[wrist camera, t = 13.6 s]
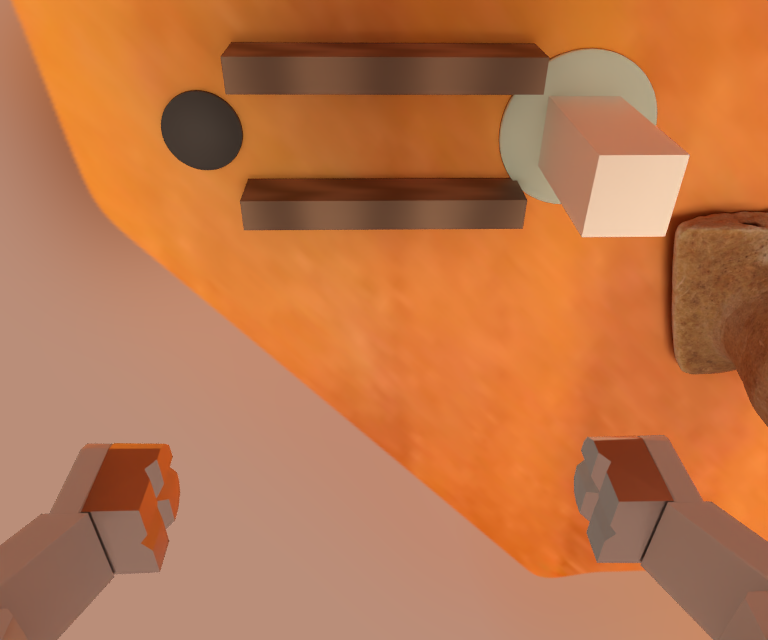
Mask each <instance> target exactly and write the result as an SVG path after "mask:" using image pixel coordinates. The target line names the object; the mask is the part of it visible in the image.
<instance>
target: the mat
mask: <svg viewBox="0 0 768 640" xmlns="http://www.w3.org/2000/svg"><path fill="white" fill-rule="evenodd" d="M549 96H621V97H622V98H623V99H625V100H626V101H627V102H628V103H629V104H631V105H632V106H633V107H634V108H635V109H636V110H638V111H639V112H640V113H641V114H642V115H643V116H645V117H646V118H647V119H648V120H649V121H651V122H652V123H653V124H654V125H655V126H656V123H657V102H656V98H655V93H654V90H653V88H652V85H651V83H650V81H649V80H648V78H647V76H646V75H645V73H644V72H643V71H642V70H641V69H640V68H639V67H638V66H637V65H636V64H635V63H634V62H632V61H631V60H629V59H628V58H626V57H624V56H623V55H621V54H618V53H616V52H613V51H609V50H605V49H596V48H588V49H578V50H573V51H569V52H566V53H563V54H560V55H558V56H556V57H554V58H552V59H550V60H549V63H548V70H547V76H546V83H545V89H544V95H512V97H511V98H510V100H509V102H508V104H507V106H506V109H505V111H504V114H503V117H502V120H501V126H500V132H499V146H500V153H501V158H502V161H503V163H504V166H505V168H506V170H507V172H508V174H509V176H510V177H511V179H512V180H513V181H515V180H517V181H518V183H519V185H520V187H521V189H522V191H524V192H525V193H527V194H528V195H530V196H532V197H534V198H536V199H538V200H541V201H544V202H548V203H554V204H561V202H560V201H559V199H558V198H557V196H556V194H555V193H554V191H553V189H552V188H551V186H550V184H549V183H548V181H547V180H546V178H545V176H544V175H543V173H542V171H541V170H540V168H539V167H538V162H539V155H540V149H541V143H542V137H543V130H544V124H545V118H546V111H547V105H548V99H549Z"/></svg>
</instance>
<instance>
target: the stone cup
mask: <svg viewBox="0 0 768 640" xmlns="http://www.w3.org/2000/svg"><path fill="white" fill-rule="evenodd" d="M672 333H673V346H674V353H675V358H676V361H677V363H678V365H679V367H680V368H681V370H682V371H684V372H686V373H689V374H711V373H721V372H727V371H732V370H737V372H738V374H739V376H740V378H741V379H742V381H743V384H744V387H745V389H746V392H747V395H748V397H749V400H750V402H751V404H752V406H753V407H754V409H755V411H756V412H757V414H758V415H759V416H760V417H761V419H762V420H763V421H764V423H765V424H766V425H767V426H768V213H764V212H737V213H733V214H729V213H719V214H711V215H707V216H704V217H703V216H699V217H696V218H694V219H691V220H688V221H685V222H682V223H681V224H680V225H679V226H678V227H677V230H676V232H675V239H674V255H673V265H672Z"/></svg>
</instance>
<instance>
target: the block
mask: <svg viewBox="0 0 768 640" xmlns="http://www.w3.org/2000/svg"><path fill="white" fill-rule="evenodd" d="M689 156H690V155H689V154H688V153H687V152H686V151H685V150H683V149H682V148H681V147H680V146H679V145H678V144H676V143H675V142H674V141H673V140H672V139H671V138H669V137H668V136H667V135H666V134H665V133H663V132H662V131H661V130H660V129H659V128H658V127H656V126H655V125H654V124H653V123H652V122H651V121H649V120H648V119H647V118H646V117H645V116H643V115H642V114H641V113H640V112H639V111H638V110H636V109H635V108H634V107H633V106H632V105H631V104H629V103H628V102H627V101H626V100H625V99H623V98H622V97H621V96H549V99H548V105H547V111H546V118H545V124H544V130H543V137H542V143H541V149H540V155H539V162H538V167H539V168H540V170H541V171H542V173H543V175H544V176H545V178H546V180H547V181H548V183H549V184H550V186H551V188H552V189H553V191H554V193H555V194H556V196H557V198H558V199H559V201H560V202H561V204H562V206H563V207H564V209H565V211H566V212H567V214H568V215H569V217H570V219H571V220H572V222H573V224H574V225H575V227H576V229H577V230H578V232H579V233H580V235H581V237H653V236H665V235H666V232H667V228H668V225H669V222H670V219H671V215H672V212H673V209H674V206H675V202H676V199H677V196H678V192H679V189H680V186H681V183H682V179H683V176H684V173H685V169H686V166H687V163H688V160H689Z"/></svg>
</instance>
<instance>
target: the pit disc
mask: <svg viewBox="0 0 768 640" xmlns="http://www.w3.org/2000/svg"><path fill="white" fill-rule="evenodd" d="M161 130H162V135H163V138H164V141H165V143H166V145H167V147H168V148H169V150H170V151H171V152H172V153H173V155H174V156H175V157H176V158H178V159H179V160H180V161H181V162H183V163H185V164H186V165H188V166H191V167H193V168H196V169H201V170H214V169H219V168H222V167H224V166H226V165H227V164H229V163H230V162H231V161H232V160H233V159H234V158H235V157H236V156H237V154H238V152H239V150H240V147H241V144H242V137H243V134H242V127H241V123H240V120H239V118H238V116H237V114H236V113H235V111H234V110H233V109H232V107H231V106H230V105H229V104H228V103H227V102H226V101H224V100H223V99H222V98H220V97H218V96H216V95H214V94H212V93H209V92H205V91H197V90H195V91H187V92H184V93H181V94H179V95H178V96H176V97H175V98H173V99H172V100H171V101H170V102H169V104H168V105H167V106H166V108H165V110H164V112H163V115H162V119H161Z"/></svg>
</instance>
